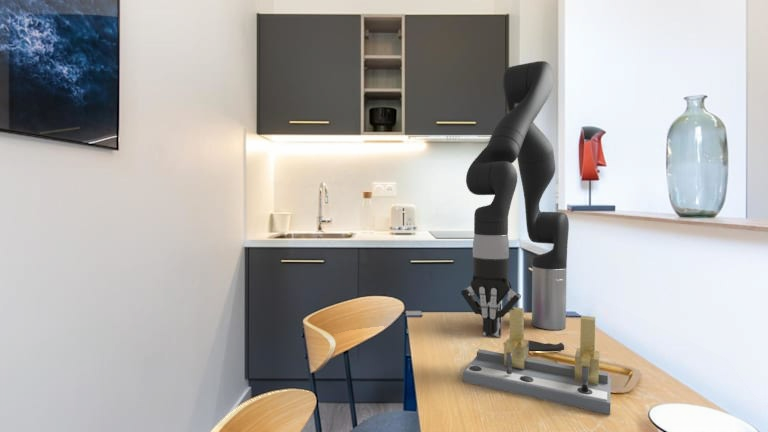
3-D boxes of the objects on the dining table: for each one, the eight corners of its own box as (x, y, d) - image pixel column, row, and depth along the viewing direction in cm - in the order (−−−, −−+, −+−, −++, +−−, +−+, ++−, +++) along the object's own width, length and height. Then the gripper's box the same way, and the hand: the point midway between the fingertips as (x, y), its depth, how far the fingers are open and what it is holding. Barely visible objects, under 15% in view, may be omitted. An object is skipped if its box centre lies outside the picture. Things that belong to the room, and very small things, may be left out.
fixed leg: (576, 371, 82) (577, 313, 82) (599, 375, 80) (600, 316, 80) (572, 391, 73) (573, 326, 73) (597, 396, 71) (598, 330, 71)
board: (479, 361, 92) (479, 345, 92) (610, 386, 79) (610, 369, 79) (462, 381, 82) (462, 364, 82) (610, 414, 69) (610, 394, 69)
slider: (509, 357, 88) (509, 305, 88) (528, 360, 86) (529, 307, 86) (498, 374, 80) (498, 316, 79) (519, 378, 78) (519, 319, 77)
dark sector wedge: (569, 358, 95) (570, 351, 95) (509, 355, 97) (509, 348, 97) (560, 346, 103) (561, 339, 103) (505, 342, 105) (505, 336, 105)
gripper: (526, 255, 87) (525, 334, 88) (466, 251, 94) (466, 325, 95) (518, 259, 81) (517, 345, 81) (455, 255, 87) (454, 334, 88)
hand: (489, 334), depth 88 cm, fingers closed
